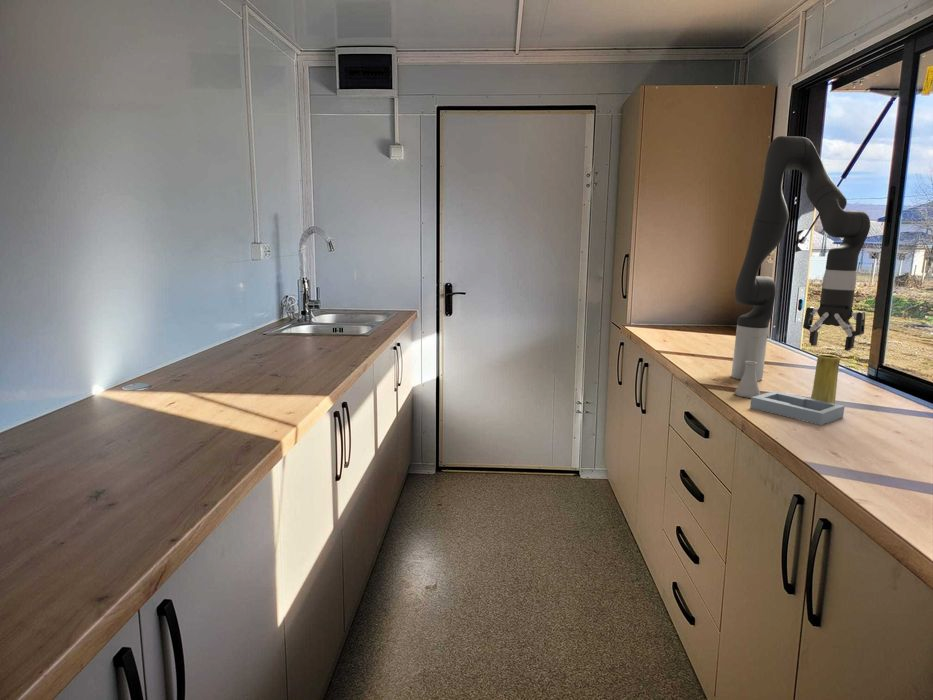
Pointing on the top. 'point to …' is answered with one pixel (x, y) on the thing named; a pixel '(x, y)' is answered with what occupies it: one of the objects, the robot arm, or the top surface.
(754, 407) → the keyhole board
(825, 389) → the vase
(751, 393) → the flask
